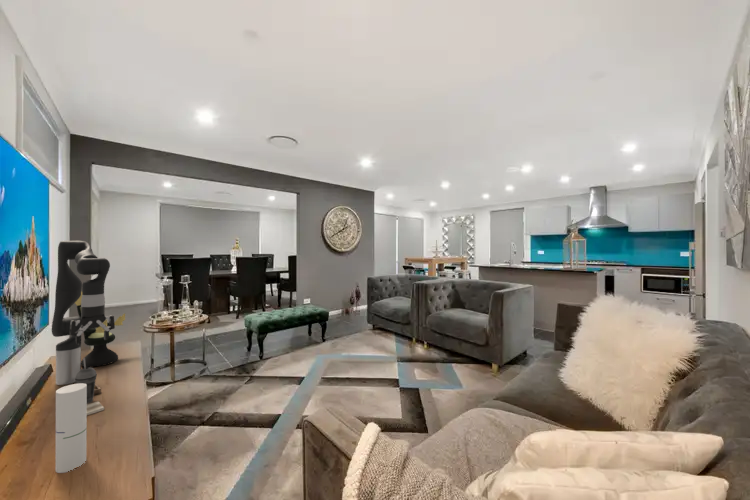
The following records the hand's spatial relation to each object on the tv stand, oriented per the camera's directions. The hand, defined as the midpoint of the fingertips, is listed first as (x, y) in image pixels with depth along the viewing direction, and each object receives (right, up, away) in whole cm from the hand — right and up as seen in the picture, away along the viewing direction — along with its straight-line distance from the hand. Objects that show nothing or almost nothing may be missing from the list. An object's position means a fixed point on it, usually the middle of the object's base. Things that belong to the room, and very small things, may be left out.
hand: (92, 341), depth 133 cm
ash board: (-2, -29, -2) cm, 29 cm away
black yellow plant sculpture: (-45, -28, +51) cm, 74 cm away
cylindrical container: (+23, -30, -33) cm, 51 cm away
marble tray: (-16, -29, +14) cm, 36 cm away
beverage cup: (-9, -29, +6) cm, 31 cm away
